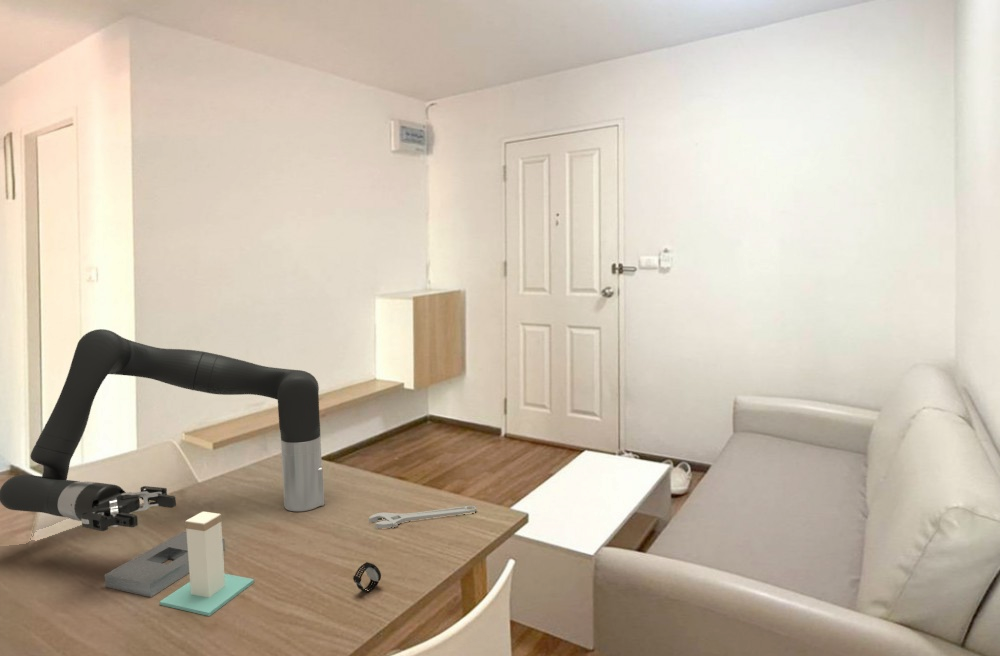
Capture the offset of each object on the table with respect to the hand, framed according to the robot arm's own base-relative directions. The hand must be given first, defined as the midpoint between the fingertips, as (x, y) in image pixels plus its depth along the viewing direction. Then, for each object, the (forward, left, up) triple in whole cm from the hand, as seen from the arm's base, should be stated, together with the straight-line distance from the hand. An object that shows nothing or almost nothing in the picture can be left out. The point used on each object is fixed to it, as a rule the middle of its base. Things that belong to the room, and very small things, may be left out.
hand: (155, 511), depth 111 cm
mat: (-9, +9, -13) cm, 19 cm away
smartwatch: (-36, +19, -14) cm, 43 cm away
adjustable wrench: (-53, -5, -14) cm, 55 cm away
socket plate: (-1, -4, -13) cm, 14 cm away
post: (-9, +9, -13) cm, 18 cm away
